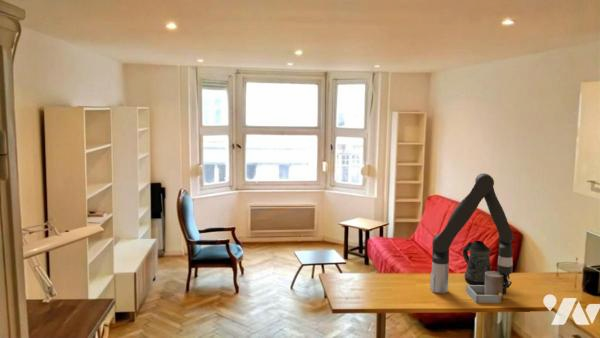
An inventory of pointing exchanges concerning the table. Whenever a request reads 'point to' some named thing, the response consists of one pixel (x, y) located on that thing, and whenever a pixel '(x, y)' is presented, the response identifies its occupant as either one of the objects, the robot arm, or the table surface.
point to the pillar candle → (493, 283)
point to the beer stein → (476, 262)
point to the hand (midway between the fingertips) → (503, 293)
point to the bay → (475, 289)
